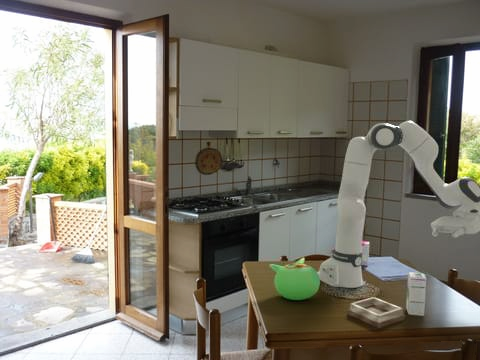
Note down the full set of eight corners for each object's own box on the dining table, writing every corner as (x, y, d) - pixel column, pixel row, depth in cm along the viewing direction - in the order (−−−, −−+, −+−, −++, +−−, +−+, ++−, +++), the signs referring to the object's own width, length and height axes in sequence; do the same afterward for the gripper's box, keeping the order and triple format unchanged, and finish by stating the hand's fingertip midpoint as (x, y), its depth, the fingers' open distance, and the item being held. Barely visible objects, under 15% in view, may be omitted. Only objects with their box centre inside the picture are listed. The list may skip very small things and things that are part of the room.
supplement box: (368, 263, 232) (369, 241, 231) (367, 266, 227) (369, 244, 225) (356, 262, 234) (358, 240, 233) (355, 265, 228) (357, 242, 227)
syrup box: (424, 316, 168) (427, 277, 166) (407, 314, 169) (410, 276, 167) (421, 310, 173) (424, 273, 172) (405, 308, 175) (407, 271, 173)
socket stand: (347, 313, 168) (348, 303, 167) (372, 306, 176) (373, 296, 175) (378, 328, 156) (379, 317, 156) (404, 319, 164) (405, 308, 164)
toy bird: (285, 308, 171) (286, 270, 170) (265, 292, 187) (267, 257, 185) (326, 303, 178) (328, 266, 176) (304, 288, 193) (306, 254, 192)
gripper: (440, 210, 193) (419, 227, 188) (484, 210, 175) (462, 229, 169) (446, 223, 194) (425, 240, 189) (490, 225, 176) (468, 244, 170)
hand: (443, 235), depth 179 cm, fingers open, 8 cm apart
